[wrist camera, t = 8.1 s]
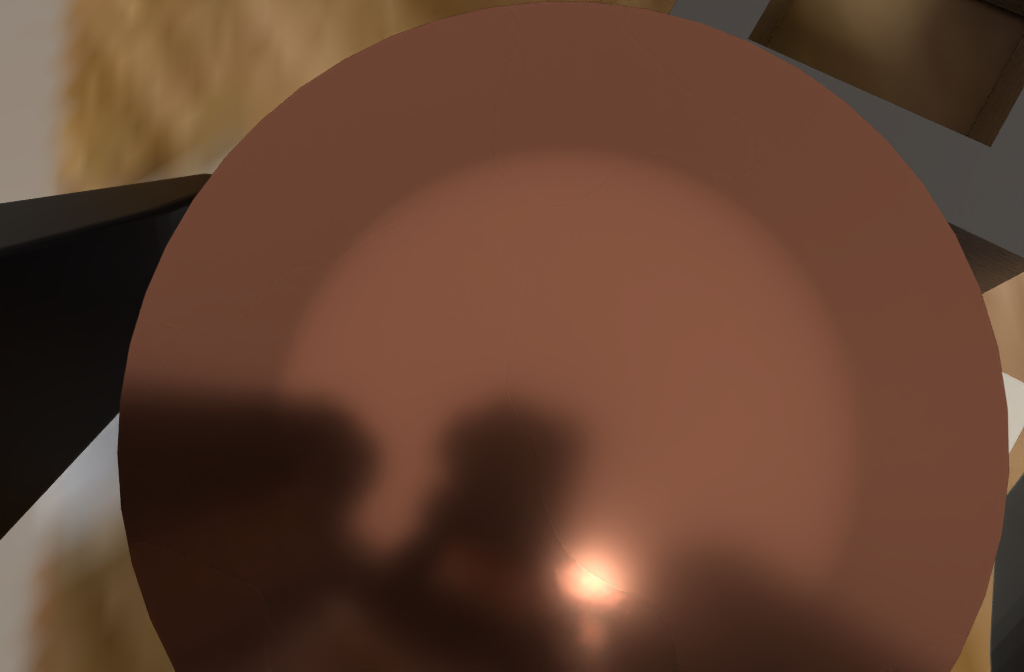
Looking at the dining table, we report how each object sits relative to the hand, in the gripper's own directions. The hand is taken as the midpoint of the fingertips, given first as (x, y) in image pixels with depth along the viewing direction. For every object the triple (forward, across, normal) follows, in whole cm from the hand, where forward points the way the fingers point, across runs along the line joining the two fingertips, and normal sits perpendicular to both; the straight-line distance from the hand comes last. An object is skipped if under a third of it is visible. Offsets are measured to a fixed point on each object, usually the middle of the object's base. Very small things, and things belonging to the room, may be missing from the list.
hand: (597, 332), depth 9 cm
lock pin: (+5, 0, +7) cm, 9 cm away
